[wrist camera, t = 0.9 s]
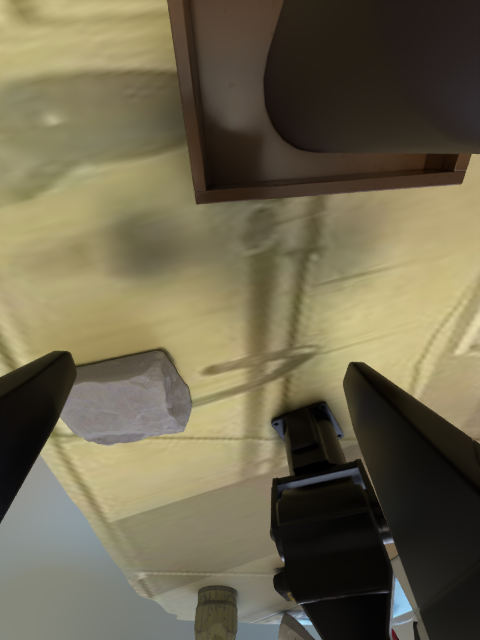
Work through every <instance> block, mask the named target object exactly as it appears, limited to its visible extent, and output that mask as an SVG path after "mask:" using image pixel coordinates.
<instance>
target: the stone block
mask: <svg viewBox="0 0 480 640" xmlns="http://www.w3.org/2000/svg"><path fill="white" fill-rule="evenodd" d="M76 369H77V377H76V380H75V382H74V385H73V387H72V389H71V392H70V394H69V396H68V399H67V401H66V403H65V406H64V408H63V410H62V413H61V415H60V417H61V419H62V420H63V422H64V423H65V424H66V425H67V426H68V427H69V428H70V429H71V430H72V431H73V433H74V434H77V435H79V436H80V437H83V438H84V439H85V440H87V441H90V442H95V443H97V444H102V445H113V444H116V443H130V442H135V441H139V440H142V439H144V438H146V437H147V436H159V435H163V434H175V433H179V432H183V431H184V430H185V427H186V425H187V423H188V421H189V417H190V413H191V401H190V395H189V388H188V387H187V385H186V384H185V383H184V382H183V380H182V379H181V378H180V376H179V375H178V373H177V372H176V370H175V367H174V366H173V365H172V364H171V362H170V361H169V360H168V358H167V356H166V354H165V353H164V352H163V351H152V352H148V353H143V354H138V355H133V356H128V357H123V358H119V359H115V360H110V361H105V362H101V363H97V364H94V365H86V366H82V367H77V368H76Z"/></svg>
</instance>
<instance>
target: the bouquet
mask: <svg viewBox="0 0 480 640" xmlns="http://www.w3.org/2000/svg"><path fill="white" fill-rule="evenodd" d="M391 633H392V638H393V640H399V639H398V637H397V636H396V633H395V632H394V630H393V629H392V632H391ZM278 638H279V640H315V639H314V638H313V637H312V636H311V635H310V634H309V633H308V631H307V630H306V629H305V628H304V627H303V626H302V625H301V624H300V623H299V622H298V621H297V620H296V619H295V618H294V617H292V616H291V615H290V614H288V613H286V612H285V613H284V615H283V618H282V621H281V624H280V628H279V634H278Z"/></svg>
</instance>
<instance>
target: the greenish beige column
mask: <svg viewBox="0 0 480 640" xmlns="http://www.w3.org/2000/svg"><path fill="white" fill-rule="evenodd" d="M236 597H237V592H236V590H234V589H233V588H230V587H225V586H209V587H205V588H202V589H200V590H199V592H198V605H197V607H196V615H195V627H194V630H195V639H196V640H235V637H236V633H237V606H236Z"/></svg>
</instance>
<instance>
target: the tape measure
mask: <svg viewBox="0 0 480 640" xmlns="http://www.w3.org/2000/svg"><path fill="white" fill-rule="evenodd" d="M273 584H274V588H275V590H276V591H277V592H278V593H279V594H280V595H281V596H283V597H284V598H285V599H286V600H287V601H292V600H295V599H294V598H293V596H292V594H291V592H290V590H289V588H288V586H287V579H286V571H284V572H281V573H278V574H276V575H274V578H273Z"/></svg>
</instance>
